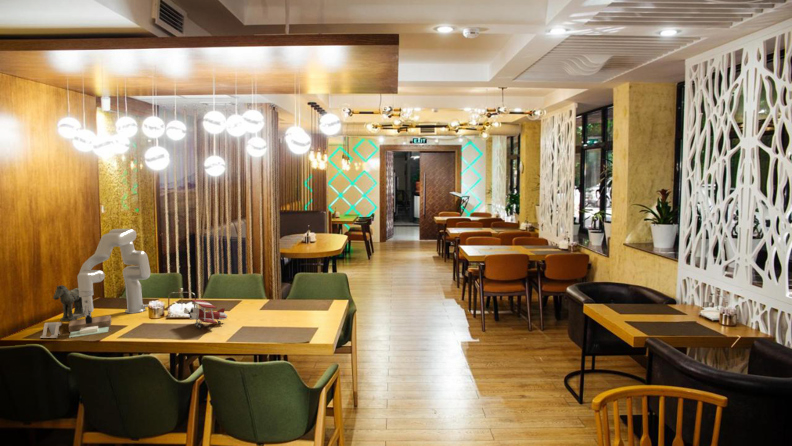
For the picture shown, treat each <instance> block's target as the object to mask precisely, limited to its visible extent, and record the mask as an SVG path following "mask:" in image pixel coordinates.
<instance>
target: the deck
mask: <svg viewBox="0 0 792 446" xmlns="http://www.w3.org/2000/svg"><path fill="white" fill-rule="evenodd" d="M94 326H98V328H102V327H109V328H111V327H112V315H103V316H98V317H97V316H95V317H92V323H88V324H86V320H85V318H79V319H76V320H72V321H69V323H68V332H70V333H71V332H74V331H80V329H81V328H87V327H94Z"/></svg>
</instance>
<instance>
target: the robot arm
mask: <svg viewBox="0 0 792 446" xmlns="http://www.w3.org/2000/svg"><path fill="white" fill-rule="evenodd" d="M136 239H137V231H136V230H135V229H132V228H114V229H110V230H109V232H108V233H105V234H103V235H102V236H101V238H100V240H99V242H98V245H97V248H96V250H95V252H94V253H93V255H91V256H89V258H88V259H86V260H85V261H84V262H83V264H82V265H81V268H80V270H79V272H78V274H77V288H79V297H82V306H83V313H85V316H84V319H85V320H86V324H88V323H92V318H93V317H92V313H93V312H94V301H93V296H94V284H95V283H96V284H97V283H101V282H103V280H105V277H106V274H105V272H104V271H103V270H100V269H93V268H94V267H96V266H97V265H99V264H101V263H103V262H105V261H107V260H109V259H110V257H111V255H112V251H113V249H114V247H119V249H120V254H121V259H122V262H123V264H124V265H127V266H126V267H124V268H123V269H122V275H123V280H124V285H125V295H126V305H127V306H126V308H127V309H125V310H124V313H125V314H137V313H142V312H145V311H146V309H147V308H149V307H148V305H149V304H150V303H149V304H148V303H145V304H144V302H143V295H142V292H143V290H142V283H141V282H140V281H143V280H147V279H150V277H151V268H150V261H149V256H148V254H147V253H146V252H145V251H144V250H136V249H135V244H134V241H136Z"/></svg>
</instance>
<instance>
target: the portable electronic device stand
mask: <svg viewBox="0 0 792 446" xmlns="http://www.w3.org/2000/svg"><path fill="white" fill-rule="evenodd" d="M61 326H62V321H57V322H55V321H54V322H45V323H44V324H43V330H42V335H40V337H39V338H57V339H58V338H59V337H58V336H59V335H58V334H60V335H61V333H60V330H59V329H60V327H61ZM48 329H49V332H50V334H51V335H50V336H47V332H48Z"/></svg>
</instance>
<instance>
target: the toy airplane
mask: <svg viewBox="0 0 792 446" xmlns="http://www.w3.org/2000/svg"><path fill="white" fill-rule="evenodd" d="M191 301H192V302H193V307H191V308H190V310H189V309H188V308H187V307H184V309H183V313H184V314H188V315H189V320H195V323H194V327H196V328H197V329H202V327H203V326H202V323H206V324H207V323H208V324H217V323H218V325H219V324H221V321H222V320H223V321H225V319H227V318H228V314H227V313H226V312H225V310H226V308H224V307H221V308H220V309H218V310H215V311H213V309H217V306H215V305H214V304H211V303H210V302H208V301H206V300H201V299H191ZM196 305H198V306H199V307H200V308H198V307H196ZM206 309H210V310H207V311H206Z"/></svg>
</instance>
